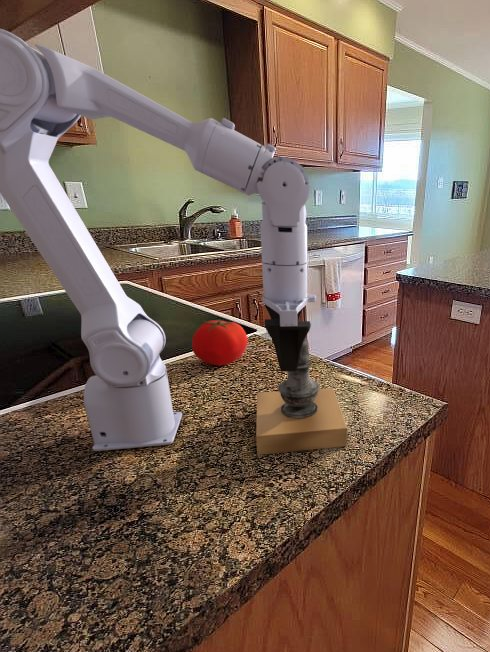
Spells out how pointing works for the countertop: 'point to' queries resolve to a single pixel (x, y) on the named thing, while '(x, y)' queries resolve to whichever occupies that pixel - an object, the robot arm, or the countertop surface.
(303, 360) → the grey chess piece
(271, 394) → the block
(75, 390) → the countertop surface
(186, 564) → the countertop surface
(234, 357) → the tomato
